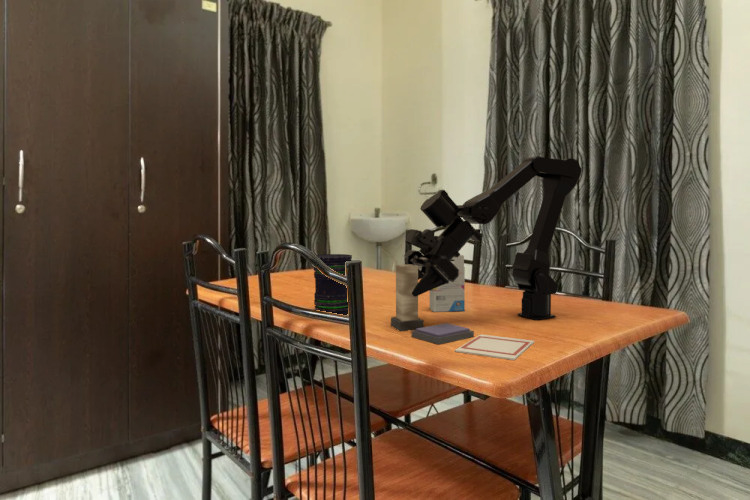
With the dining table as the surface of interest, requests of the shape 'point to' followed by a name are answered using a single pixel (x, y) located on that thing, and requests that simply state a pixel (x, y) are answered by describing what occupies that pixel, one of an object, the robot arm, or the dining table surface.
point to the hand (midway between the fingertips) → (405, 292)
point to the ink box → (450, 292)
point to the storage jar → (331, 286)
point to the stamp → (406, 299)
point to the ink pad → (442, 333)
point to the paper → (496, 346)
